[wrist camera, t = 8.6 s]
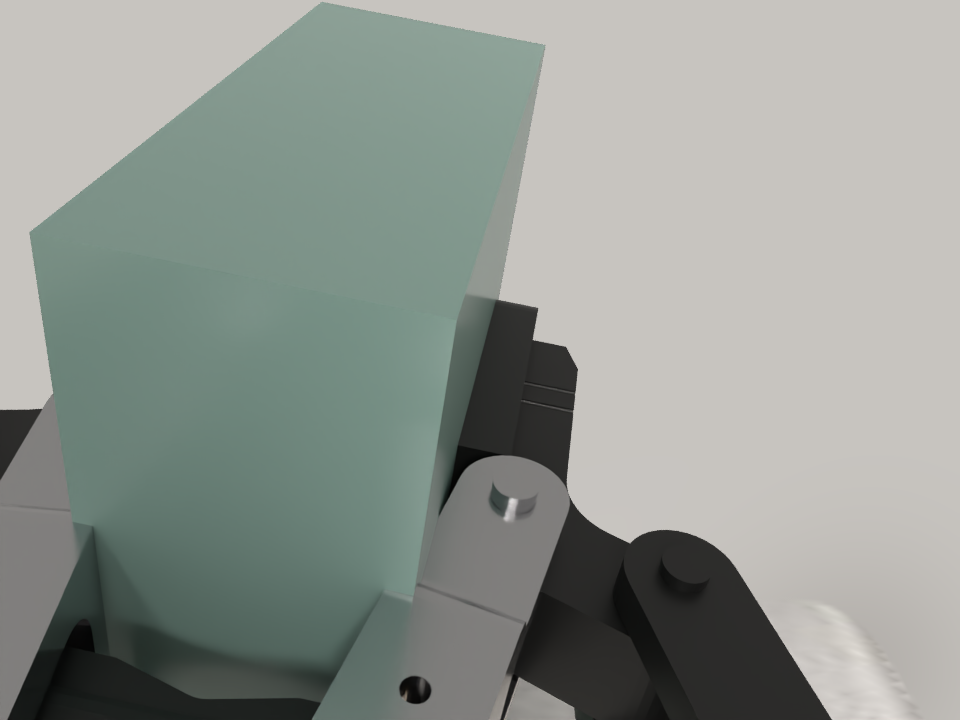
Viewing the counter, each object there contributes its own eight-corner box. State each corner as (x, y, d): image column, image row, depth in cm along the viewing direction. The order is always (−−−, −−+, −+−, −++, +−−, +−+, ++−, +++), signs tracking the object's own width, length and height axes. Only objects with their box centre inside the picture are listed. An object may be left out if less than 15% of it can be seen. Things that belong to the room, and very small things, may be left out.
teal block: (130, 916, 12) (29, 231, 6) (296, 536, 18) (322, 2, 12) (355, 967, 12) (456, 319, 6) (448, 568, 18) (545, 44, 12)
